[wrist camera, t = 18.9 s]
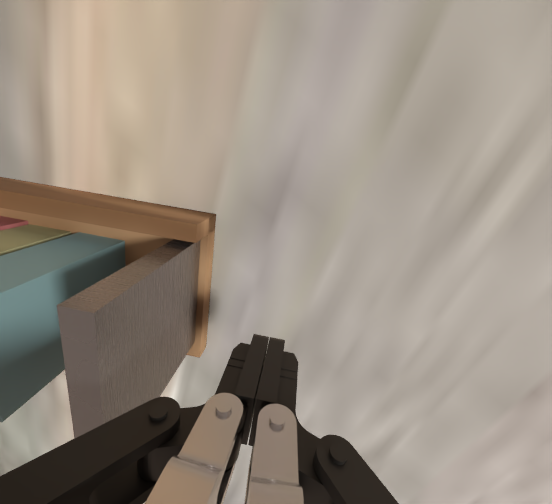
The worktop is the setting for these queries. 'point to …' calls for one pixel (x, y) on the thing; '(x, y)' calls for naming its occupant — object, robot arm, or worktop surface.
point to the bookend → (129, 334)
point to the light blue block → (44, 307)
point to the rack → (106, 228)
